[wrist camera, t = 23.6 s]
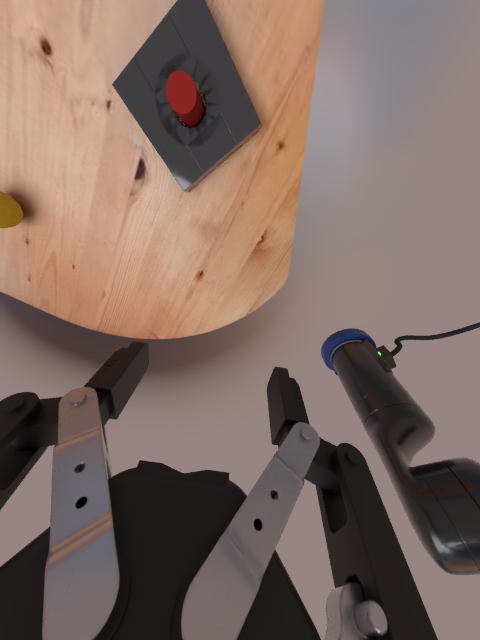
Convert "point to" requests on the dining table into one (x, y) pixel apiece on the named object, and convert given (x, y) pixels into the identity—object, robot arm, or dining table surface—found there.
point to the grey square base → (209, 78)
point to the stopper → (185, 98)
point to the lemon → (9, 211)
